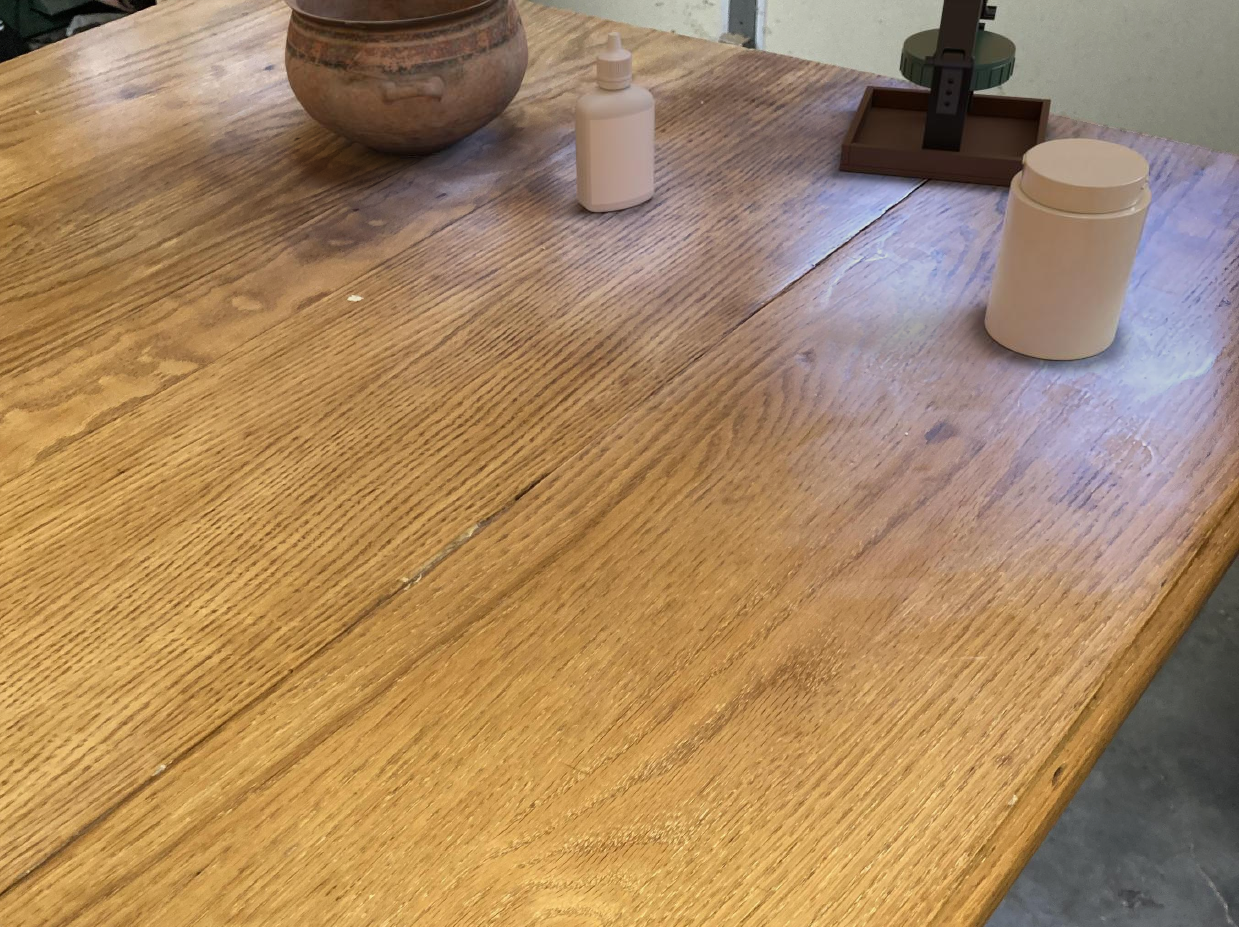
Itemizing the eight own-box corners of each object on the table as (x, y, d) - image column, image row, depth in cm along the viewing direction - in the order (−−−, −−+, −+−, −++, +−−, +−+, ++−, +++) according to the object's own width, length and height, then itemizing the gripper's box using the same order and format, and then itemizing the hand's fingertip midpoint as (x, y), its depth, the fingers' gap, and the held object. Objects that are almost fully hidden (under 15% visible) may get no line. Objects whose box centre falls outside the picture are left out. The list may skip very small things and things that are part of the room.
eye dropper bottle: (653, 213, 95) (654, 44, 87) (575, 214, 96) (570, 45, 88) (654, 187, 99) (656, 22, 91) (579, 188, 99) (574, 23, 91)
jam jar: (1115, 305, 82) (1159, 140, 76) (1113, 368, 77) (1159, 196, 70) (989, 291, 85) (1020, 129, 78) (978, 351, 79) (1011, 183, 72)
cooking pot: (555, 192, 99) (547, 24, 91) (301, 220, 97) (271, 51, 89) (512, 75, 118) (502, -73, 110) (299, 96, 116) (274, -52, 108)
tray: (1046, 124, 104) (1051, 99, 103) (1036, 189, 95) (1042, 162, 94) (864, 109, 108) (867, 85, 107) (839, 170, 99) (842, 144, 98)
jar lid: (884, 83, 97) (887, 56, 96) (918, 47, 102) (922, 21, 101) (995, 98, 94) (999, 72, 93) (1024, 61, 99) (1029, 35, 98)
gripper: (958, -243, 94) (914, 76, 109) (922, -178, 80) (877, 181, 95) (1068, -242, 92) (1008, 84, 107) (1052, -175, 78) (985, 191, 92)
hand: (946, 129), depth 101 cm, fingers closed on jar lid, 8 cm apart
